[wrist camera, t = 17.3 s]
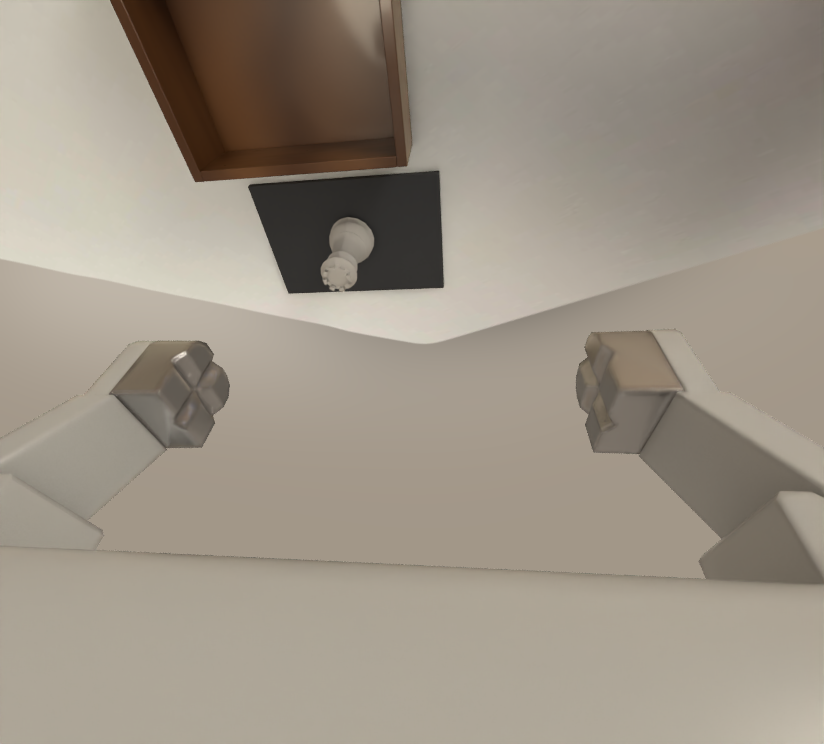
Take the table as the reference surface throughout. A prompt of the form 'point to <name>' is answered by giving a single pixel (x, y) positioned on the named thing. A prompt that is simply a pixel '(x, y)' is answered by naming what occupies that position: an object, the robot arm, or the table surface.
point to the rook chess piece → (346, 252)
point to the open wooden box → (276, 83)
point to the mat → (372, 204)
